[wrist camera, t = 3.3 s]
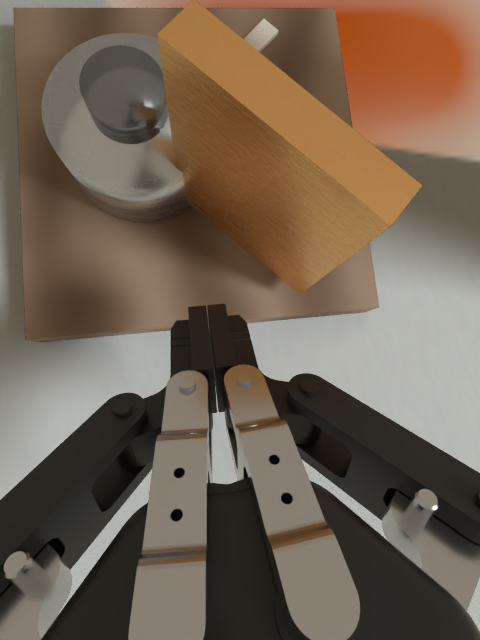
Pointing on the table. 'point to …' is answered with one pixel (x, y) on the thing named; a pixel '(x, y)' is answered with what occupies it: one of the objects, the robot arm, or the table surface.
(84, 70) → the lock handle
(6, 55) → the table surface
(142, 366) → the table surface
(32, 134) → the base
